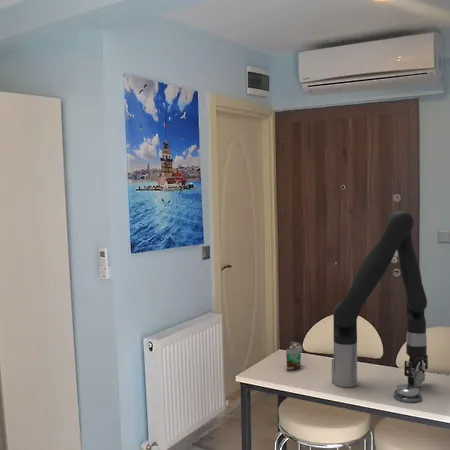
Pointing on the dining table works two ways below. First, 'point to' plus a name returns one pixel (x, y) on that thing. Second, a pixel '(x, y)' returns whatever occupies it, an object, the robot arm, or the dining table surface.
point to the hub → (407, 393)
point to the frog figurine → (419, 378)
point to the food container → (293, 356)
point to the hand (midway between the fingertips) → (416, 383)
